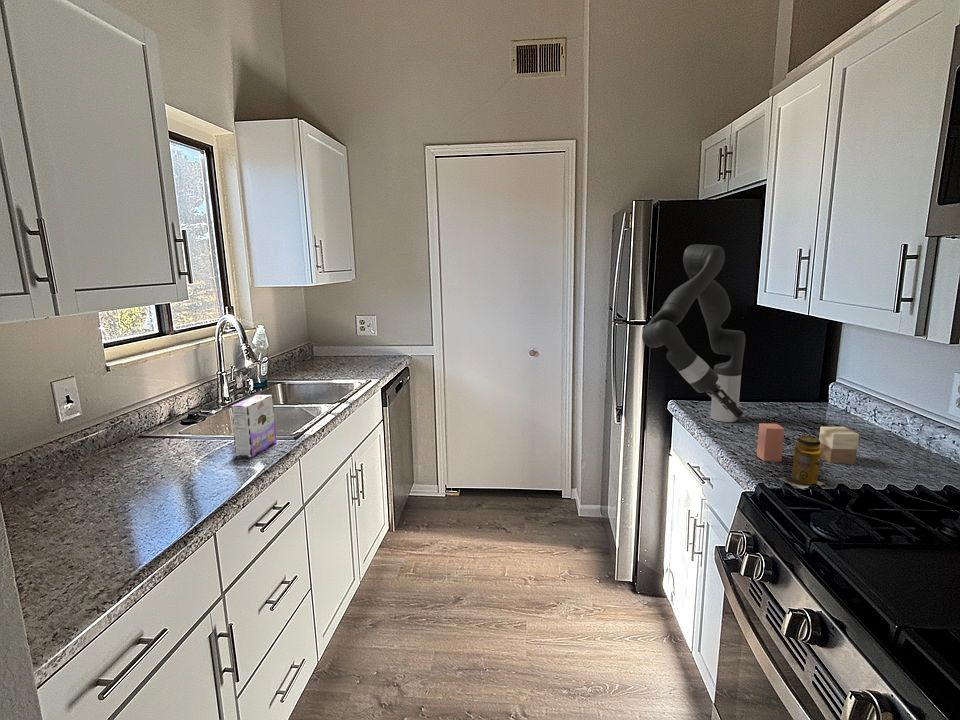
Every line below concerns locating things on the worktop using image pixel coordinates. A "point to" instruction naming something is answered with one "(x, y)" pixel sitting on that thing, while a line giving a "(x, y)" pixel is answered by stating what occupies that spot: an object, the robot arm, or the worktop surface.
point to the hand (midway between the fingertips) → (734, 411)
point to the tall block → (770, 442)
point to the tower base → (838, 454)
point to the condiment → (805, 463)
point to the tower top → (839, 437)
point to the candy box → (253, 425)
